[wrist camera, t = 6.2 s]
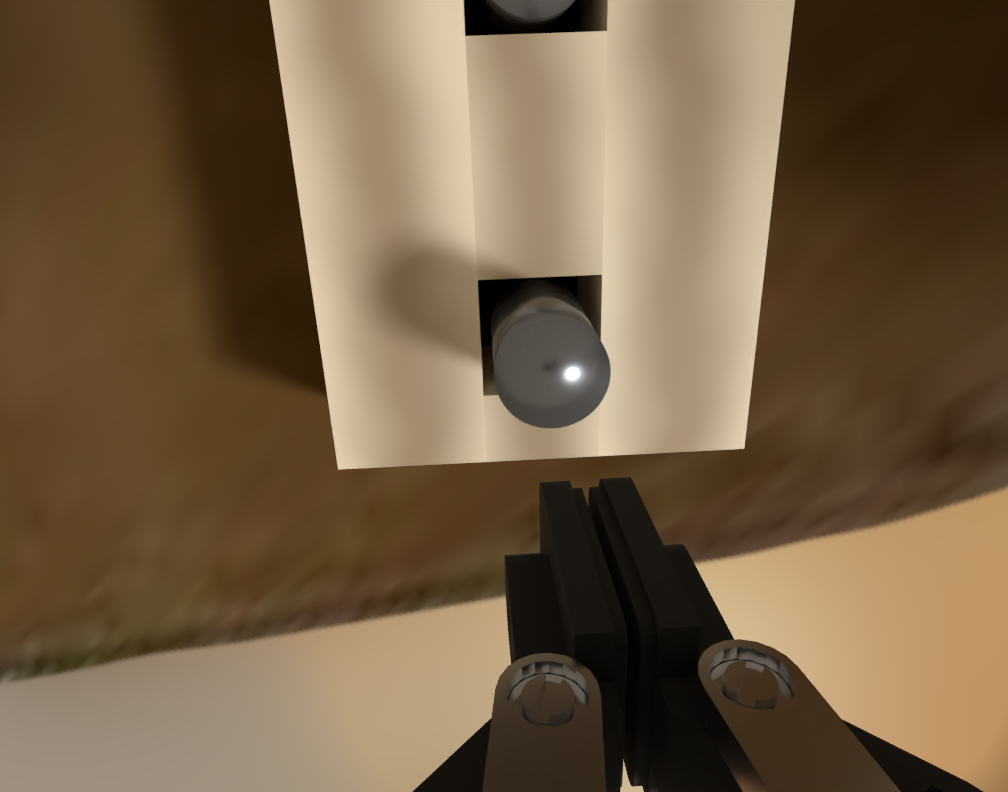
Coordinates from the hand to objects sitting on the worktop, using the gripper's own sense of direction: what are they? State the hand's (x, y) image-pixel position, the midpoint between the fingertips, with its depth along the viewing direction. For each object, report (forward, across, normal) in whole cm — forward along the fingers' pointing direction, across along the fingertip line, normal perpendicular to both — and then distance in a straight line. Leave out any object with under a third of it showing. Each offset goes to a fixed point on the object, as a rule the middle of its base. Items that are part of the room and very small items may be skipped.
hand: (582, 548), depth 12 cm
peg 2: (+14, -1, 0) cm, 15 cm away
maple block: (+19, -1, -6) cm, 20 cm away
